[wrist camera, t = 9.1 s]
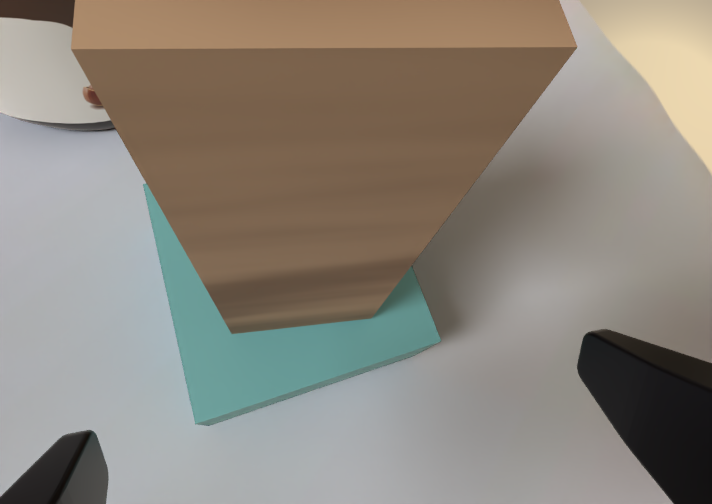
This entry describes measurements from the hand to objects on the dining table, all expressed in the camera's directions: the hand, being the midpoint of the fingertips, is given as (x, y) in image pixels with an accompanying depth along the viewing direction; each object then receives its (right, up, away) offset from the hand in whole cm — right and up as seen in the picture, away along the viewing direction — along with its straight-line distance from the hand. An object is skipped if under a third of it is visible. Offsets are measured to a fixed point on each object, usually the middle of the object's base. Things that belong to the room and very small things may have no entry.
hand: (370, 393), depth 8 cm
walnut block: (-2, +2, +9) cm, 10 cm away
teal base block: (-3, +1, +13) cm, 13 cm away
